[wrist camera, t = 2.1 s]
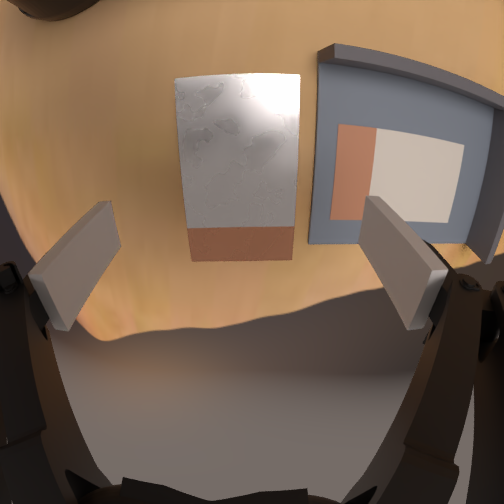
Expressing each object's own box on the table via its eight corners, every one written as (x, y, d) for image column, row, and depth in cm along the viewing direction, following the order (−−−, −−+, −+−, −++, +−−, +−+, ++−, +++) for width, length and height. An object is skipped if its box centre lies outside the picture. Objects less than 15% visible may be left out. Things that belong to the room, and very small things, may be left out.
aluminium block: (195, 81, 22) (174, 78, 16) (284, 79, 22) (300, 74, 16) (204, 218, 30) (191, 261, 23) (281, 216, 30) (291, 260, 23)
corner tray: (317, 51, 21) (334, 43, 16) (497, 100, 21) (527, 109, 16) (307, 242, 31) (317, 271, 27) (468, 241, 31) (490, 263, 27)
